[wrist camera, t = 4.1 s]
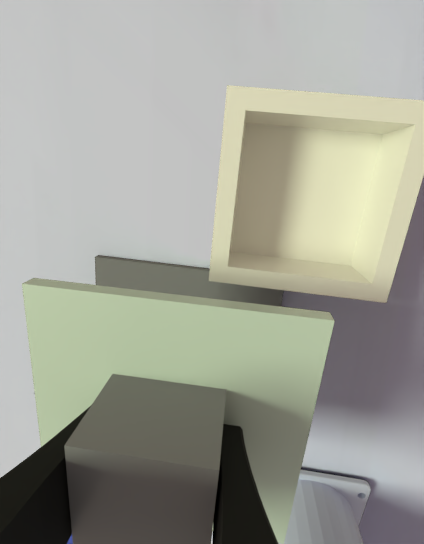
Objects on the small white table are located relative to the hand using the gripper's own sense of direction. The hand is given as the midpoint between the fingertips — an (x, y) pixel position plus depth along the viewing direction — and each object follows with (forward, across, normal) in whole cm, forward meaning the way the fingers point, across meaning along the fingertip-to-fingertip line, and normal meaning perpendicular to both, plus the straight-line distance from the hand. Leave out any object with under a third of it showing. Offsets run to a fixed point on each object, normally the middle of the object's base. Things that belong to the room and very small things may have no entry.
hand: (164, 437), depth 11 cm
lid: (+1, 0, 0) cm, 1 cm away
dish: (+9, -5, -8) cm, 13 cm away
